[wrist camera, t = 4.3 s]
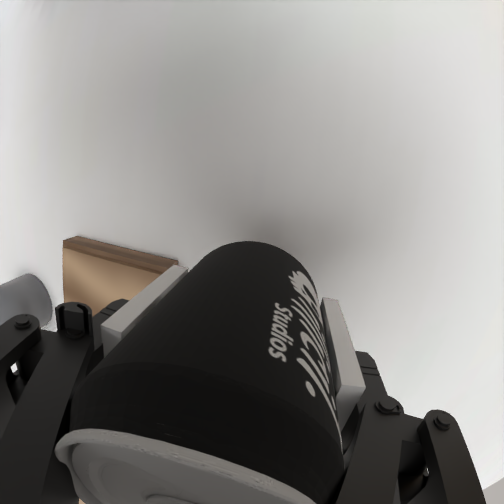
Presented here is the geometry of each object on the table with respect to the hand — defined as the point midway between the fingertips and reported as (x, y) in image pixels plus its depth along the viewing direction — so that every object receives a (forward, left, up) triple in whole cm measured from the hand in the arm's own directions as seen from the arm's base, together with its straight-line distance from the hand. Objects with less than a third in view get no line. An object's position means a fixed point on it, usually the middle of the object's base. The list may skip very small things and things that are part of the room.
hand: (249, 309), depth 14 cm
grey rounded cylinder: (+13, -28, -12) cm, 33 cm away
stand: (+9, -14, -12) cm, 20 cm away
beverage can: (0, 0, -1) cm, 1 cm away
